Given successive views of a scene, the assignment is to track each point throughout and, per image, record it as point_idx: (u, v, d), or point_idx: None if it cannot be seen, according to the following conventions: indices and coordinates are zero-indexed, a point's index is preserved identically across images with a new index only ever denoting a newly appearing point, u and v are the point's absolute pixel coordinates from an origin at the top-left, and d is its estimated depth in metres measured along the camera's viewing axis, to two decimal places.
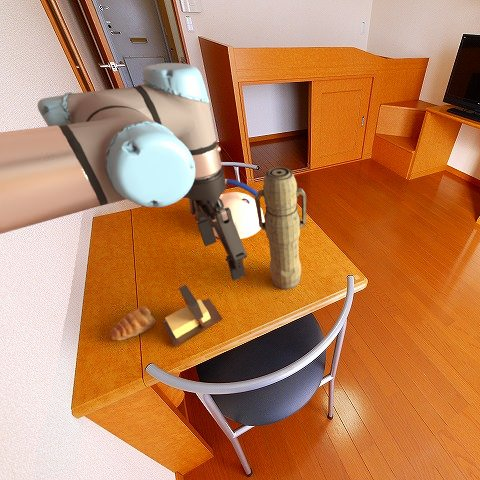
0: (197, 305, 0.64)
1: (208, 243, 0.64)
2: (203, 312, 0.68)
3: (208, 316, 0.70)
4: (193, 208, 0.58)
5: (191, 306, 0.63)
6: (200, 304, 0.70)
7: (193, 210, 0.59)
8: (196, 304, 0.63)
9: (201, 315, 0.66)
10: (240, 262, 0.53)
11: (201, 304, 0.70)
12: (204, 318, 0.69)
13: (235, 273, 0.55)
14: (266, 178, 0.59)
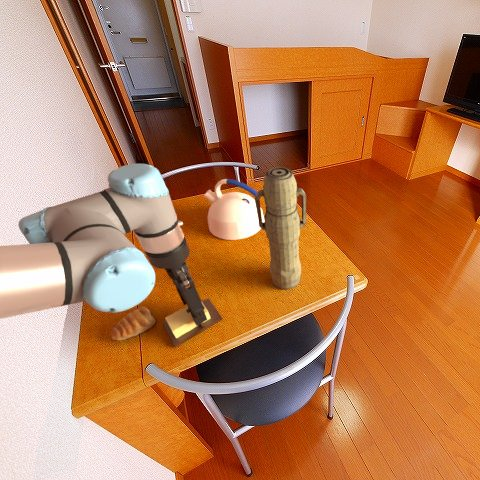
0: None
1: None
2: None
3: (208, 316, 0.70)
4: None
5: None
6: None
7: None
8: None
9: None
10: (200, 312, 0.63)
11: None
12: None
13: (197, 319, 0.65)
14: (266, 178, 0.59)
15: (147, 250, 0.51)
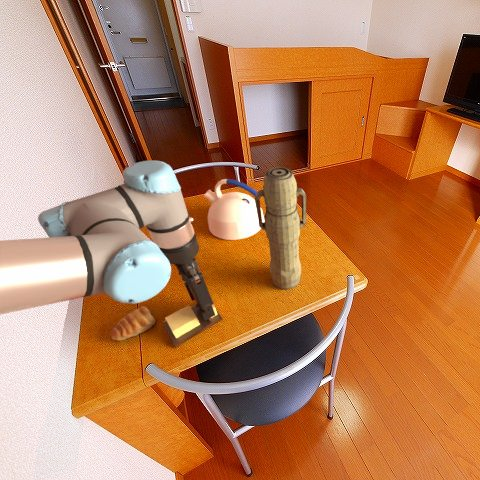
0: None
1: None
2: None
3: (215, 312, 0.71)
4: None
5: None
6: None
7: None
8: None
9: None
10: (209, 307, 0.64)
11: None
12: None
13: (205, 315, 0.66)
14: (266, 178, 0.59)
15: (159, 245, 0.52)
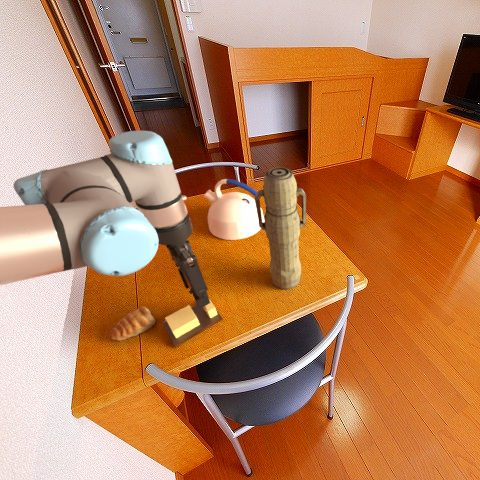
0: None
1: None
2: (210, 308, 0.69)
3: (215, 312, 0.71)
4: (172, 253, 0.63)
5: None
6: None
7: (172, 256, 0.63)
8: None
9: None
10: (203, 294, 0.61)
11: None
12: (211, 314, 0.70)
13: (200, 302, 0.63)
14: (266, 178, 0.59)
15: (149, 224, 0.48)
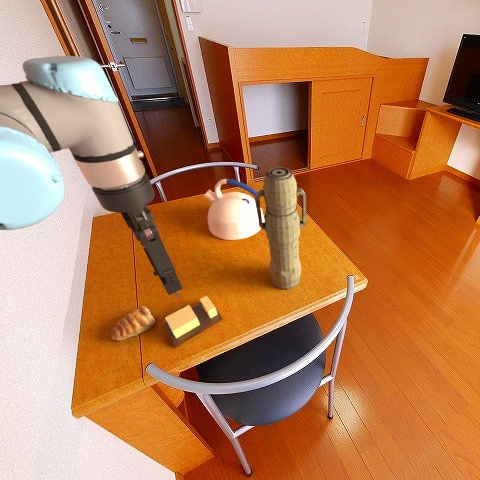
0: None
1: None
2: (210, 308, 0.69)
3: (215, 312, 0.71)
4: None
5: None
6: (207, 300, 0.71)
7: None
8: None
9: None
10: (171, 276, 0.51)
11: (208, 300, 0.71)
12: (211, 314, 0.70)
13: (169, 287, 0.53)
14: (266, 178, 0.59)
15: (92, 183, 0.38)
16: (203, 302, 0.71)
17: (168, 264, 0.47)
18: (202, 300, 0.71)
